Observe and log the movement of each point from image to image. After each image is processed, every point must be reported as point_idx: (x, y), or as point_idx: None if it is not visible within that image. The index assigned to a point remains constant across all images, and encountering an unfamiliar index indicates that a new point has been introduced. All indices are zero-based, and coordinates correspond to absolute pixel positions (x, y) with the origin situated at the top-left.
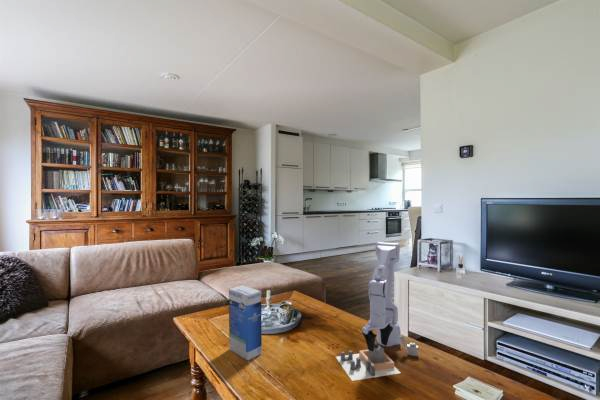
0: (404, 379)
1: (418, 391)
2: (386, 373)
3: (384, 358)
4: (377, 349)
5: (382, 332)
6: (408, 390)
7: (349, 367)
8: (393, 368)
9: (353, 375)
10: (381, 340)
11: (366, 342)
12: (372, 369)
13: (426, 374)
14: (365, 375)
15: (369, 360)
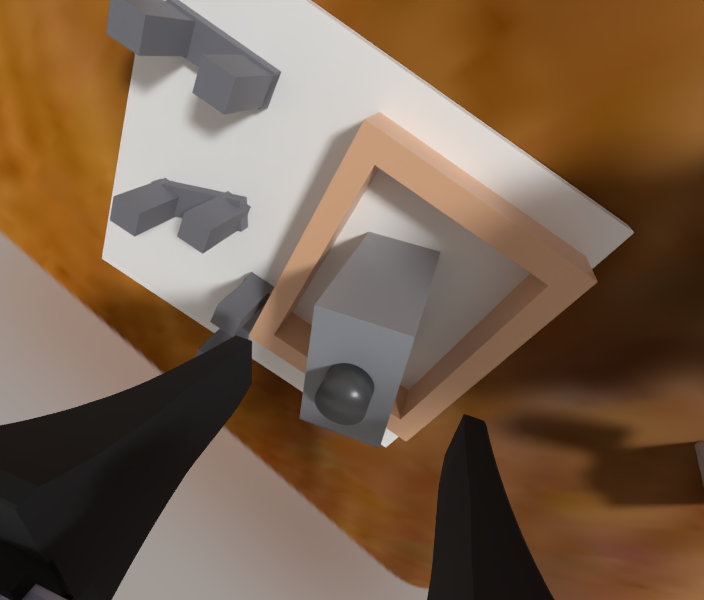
0: (365, 453)
1: (326, 501)
2: None
3: (462, 346)
4: (307, 406)
5: (453, 579)
6: (299, 471)
7: (168, 162)
8: None
9: (137, 239)
10: (461, 444)
11: (167, 372)
12: None
13: None
14: (199, 298)
15: (287, 294)
